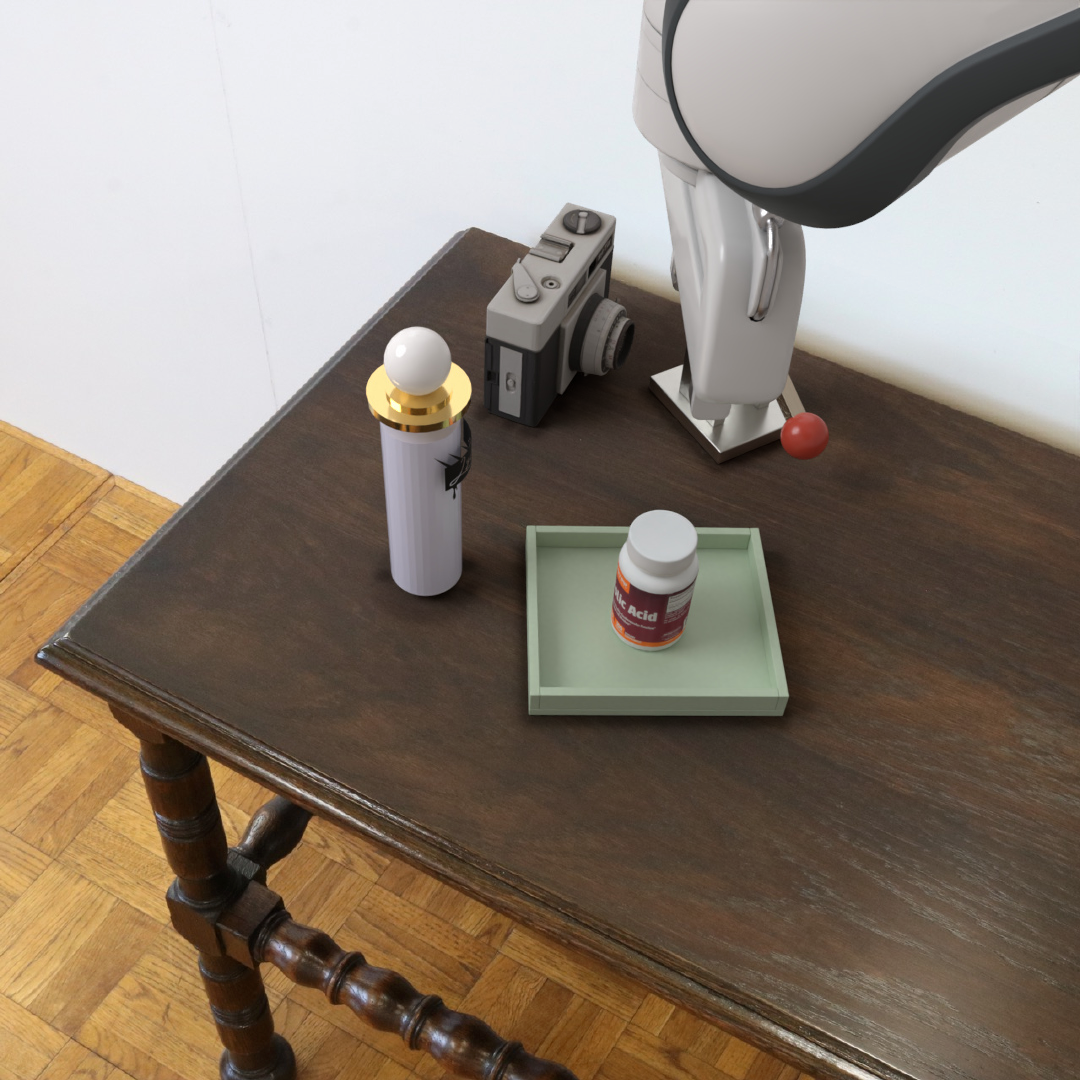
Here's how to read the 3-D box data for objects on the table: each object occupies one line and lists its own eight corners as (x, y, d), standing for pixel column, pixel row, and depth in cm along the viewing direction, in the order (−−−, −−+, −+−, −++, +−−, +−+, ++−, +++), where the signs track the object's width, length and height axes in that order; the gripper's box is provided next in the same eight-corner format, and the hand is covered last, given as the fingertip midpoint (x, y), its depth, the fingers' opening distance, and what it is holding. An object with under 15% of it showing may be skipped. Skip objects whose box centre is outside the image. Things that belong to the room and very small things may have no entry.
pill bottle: (594, 621, 79) (604, 532, 72) (645, 581, 81) (659, 491, 75) (650, 667, 77) (666, 580, 70) (701, 624, 79) (721, 536, 73)
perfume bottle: (371, 601, 80) (347, 360, 65) (396, 535, 84) (379, 292, 68) (459, 618, 79) (456, 379, 64) (480, 550, 83) (482, 309, 68)
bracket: (796, 432, 92) (831, 302, 83) (717, 464, 89) (745, 334, 80) (724, 359, 97) (749, 229, 88) (648, 388, 94) (666, 257, 85)
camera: (583, 447, 90) (593, 337, 82) (479, 410, 92) (479, 301, 84) (653, 333, 98) (668, 225, 91) (557, 302, 100) (563, 194, 93)
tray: (753, 548, 84) (758, 527, 82) (782, 716, 75) (789, 696, 74) (525, 546, 83) (526, 525, 82) (528, 715, 75) (530, 695, 73)
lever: (820, 456, 87) (845, 443, 84) (783, 471, 86) (807, 459, 83) (743, 285, 87) (764, 267, 84) (705, 298, 86) (726, 280, 83)
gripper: (868, 236, 45) (792, 499, 55) (783, -29, 58) (735, 223, 69) (692, 232, 45) (649, 498, 55) (647, -34, 58) (619, 221, 68)
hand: (696, 343), depth 62 cm, fingers open, 8 cm apart
